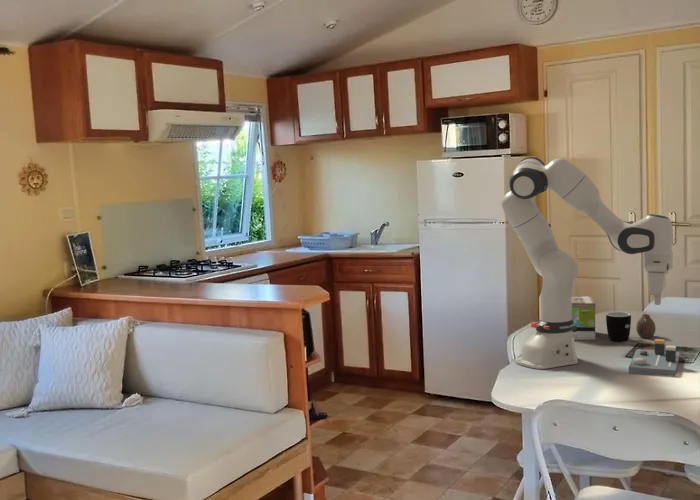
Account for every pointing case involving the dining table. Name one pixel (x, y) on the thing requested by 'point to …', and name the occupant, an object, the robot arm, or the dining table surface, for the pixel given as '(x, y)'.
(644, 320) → the vase
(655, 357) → the console
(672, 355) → the fader white
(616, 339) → the mug
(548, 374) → the dining table surface
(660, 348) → the fader orange
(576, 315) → the tea box
